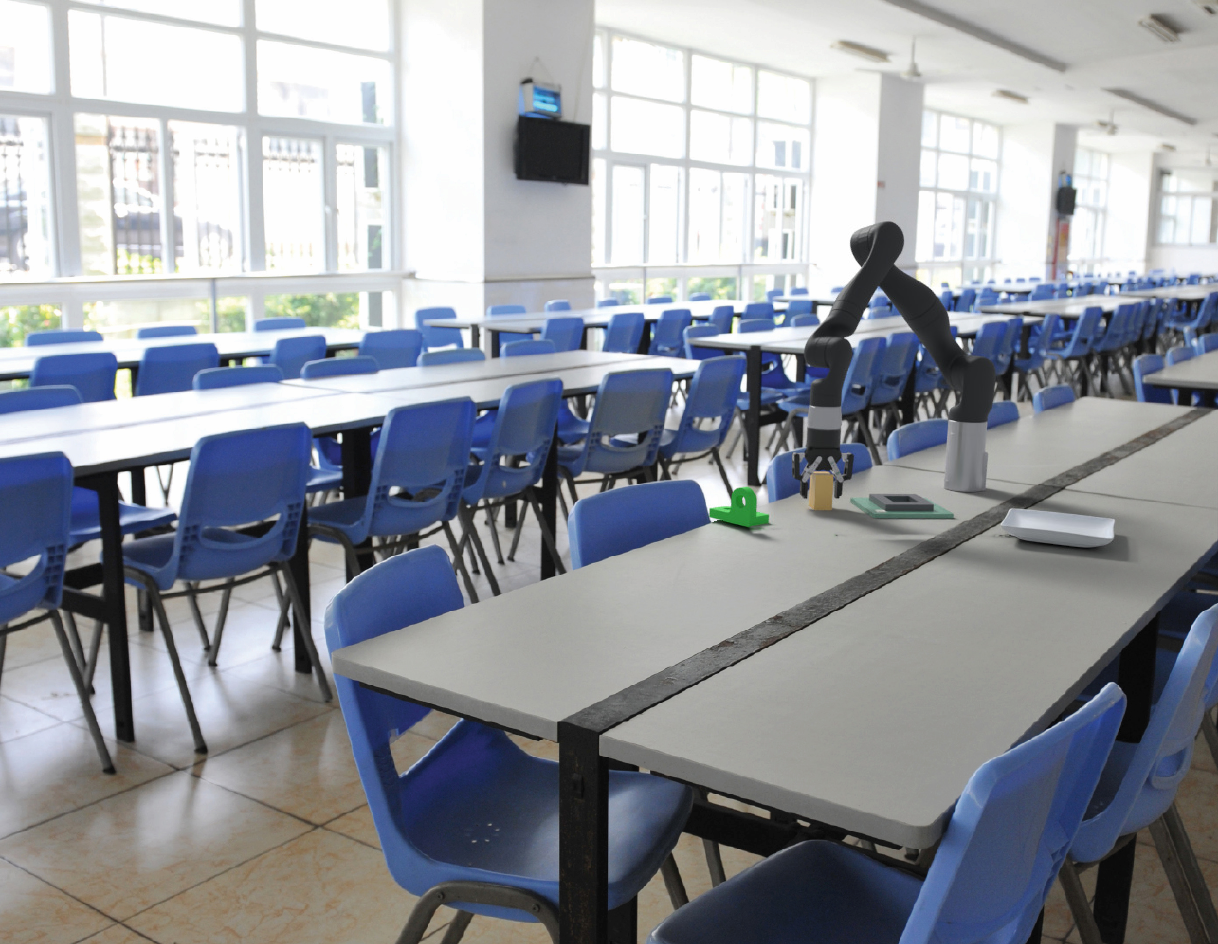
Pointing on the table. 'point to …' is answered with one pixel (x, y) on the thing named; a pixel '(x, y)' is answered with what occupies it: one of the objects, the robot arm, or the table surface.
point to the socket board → (900, 514)
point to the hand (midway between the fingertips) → (820, 497)
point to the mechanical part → (740, 509)
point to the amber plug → (821, 490)
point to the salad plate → (1059, 528)
